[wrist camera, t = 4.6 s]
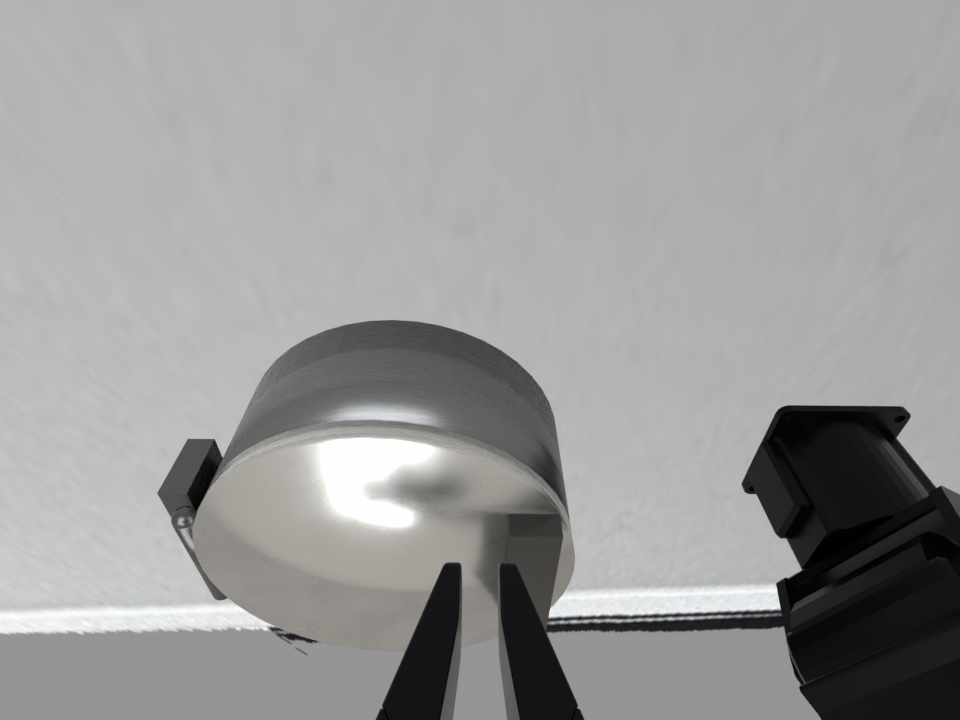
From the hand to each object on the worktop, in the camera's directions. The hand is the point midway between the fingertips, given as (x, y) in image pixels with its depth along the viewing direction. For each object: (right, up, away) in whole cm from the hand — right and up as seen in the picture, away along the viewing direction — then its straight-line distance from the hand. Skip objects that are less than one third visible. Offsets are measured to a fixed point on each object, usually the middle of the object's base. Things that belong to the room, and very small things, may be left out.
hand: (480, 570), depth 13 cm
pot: (-4, +1, +16) cm, 17 cm away
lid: (-4, -3, +11) cm, 13 cm away
